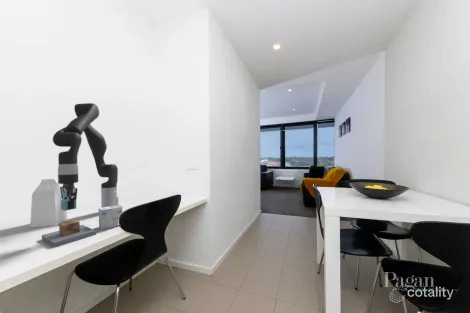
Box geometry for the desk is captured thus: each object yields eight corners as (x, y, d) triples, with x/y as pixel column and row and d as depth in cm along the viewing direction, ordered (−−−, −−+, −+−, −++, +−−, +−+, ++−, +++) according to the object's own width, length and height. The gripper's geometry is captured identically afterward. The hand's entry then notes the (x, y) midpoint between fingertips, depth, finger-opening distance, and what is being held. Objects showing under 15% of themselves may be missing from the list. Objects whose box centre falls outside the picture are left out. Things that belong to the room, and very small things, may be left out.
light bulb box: (120, 222, 116) (119, 204, 116) (123, 225, 111) (123, 206, 111) (98, 227, 109) (97, 207, 109) (100, 230, 104) (100, 210, 104)
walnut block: (74, 229, 100) (74, 219, 100) (79, 231, 97) (79, 221, 97) (59, 233, 95) (59, 223, 95) (64, 236, 92) (64, 225, 92)
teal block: (72, 207, 99) (72, 198, 99) (76, 208, 96) (76, 199, 96) (61, 209, 95) (60, 200, 95) (64, 210, 93) (64, 201, 92)
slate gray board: (81, 228, 107) (81, 224, 107) (95, 234, 98) (95, 230, 98) (41, 239, 93) (41, 235, 93) (54, 247, 85) (54, 242, 85)
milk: (67, 218, 123) (66, 177, 123) (56, 225, 112) (55, 179, 112) (44, 220, 120) (43, 178, 120) (30, 227, 109) (29, 180, 109)
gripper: (83, 173, 95) (84, 208, 95) (71, 172, 102) (72, 204, 103) (64, 174, 89) (64, 212, 89) (52, 173, 96) (53, 208, 96)
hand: (68, 208), depth 96 cm, fingers closed on teal block, 4 cm apart
